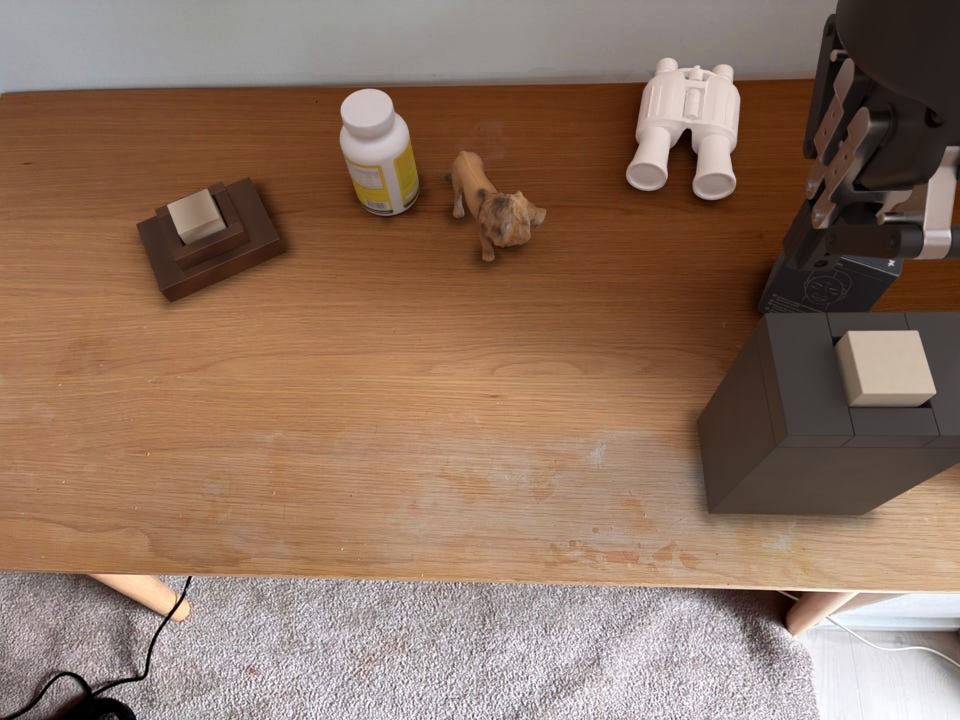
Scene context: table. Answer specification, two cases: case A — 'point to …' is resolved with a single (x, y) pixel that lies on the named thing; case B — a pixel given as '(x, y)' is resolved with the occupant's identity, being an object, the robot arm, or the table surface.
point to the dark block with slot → (825, 420)
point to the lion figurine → (491, 206)
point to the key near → (883, 369)
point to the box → (829, 286)
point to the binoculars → (694, 107)
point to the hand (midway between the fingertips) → (804, 257)
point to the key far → (196, 216)
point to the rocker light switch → (211, 242)
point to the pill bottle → (378, 153)
